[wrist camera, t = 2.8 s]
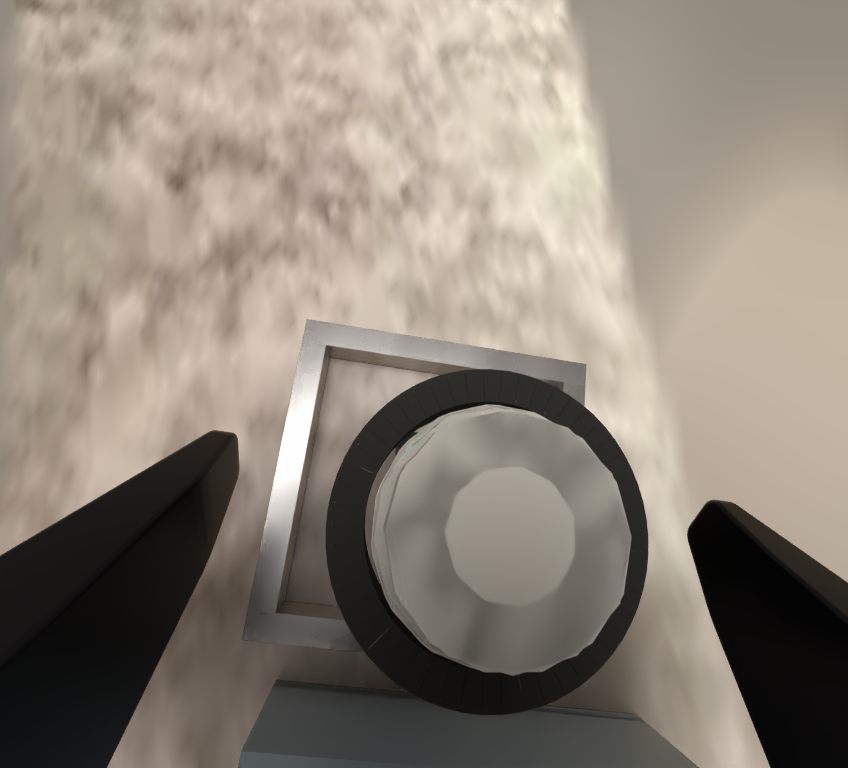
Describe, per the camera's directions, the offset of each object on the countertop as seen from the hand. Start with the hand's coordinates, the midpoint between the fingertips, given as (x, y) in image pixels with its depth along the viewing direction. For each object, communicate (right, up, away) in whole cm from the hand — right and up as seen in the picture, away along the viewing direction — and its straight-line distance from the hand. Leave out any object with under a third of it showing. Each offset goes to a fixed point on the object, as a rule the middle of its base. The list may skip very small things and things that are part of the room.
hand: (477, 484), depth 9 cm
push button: (-1, -2, +8) cm, 8 cm away
